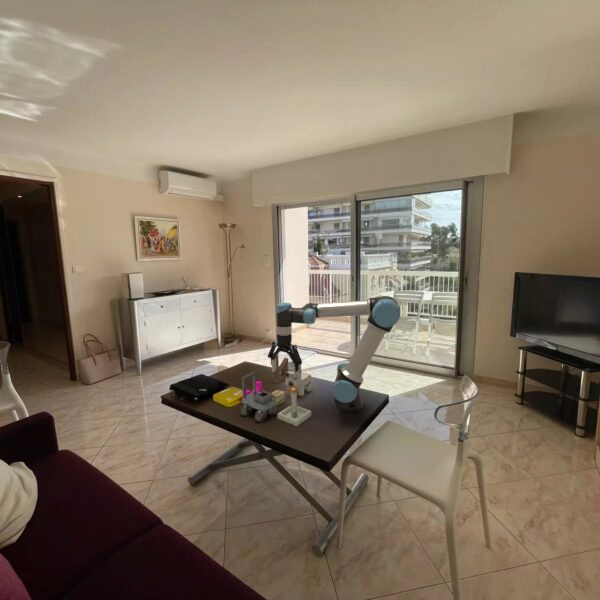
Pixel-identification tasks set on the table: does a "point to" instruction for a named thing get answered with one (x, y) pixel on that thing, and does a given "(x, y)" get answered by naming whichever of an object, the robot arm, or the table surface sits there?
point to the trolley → (257, 401)
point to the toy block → (258, 386)
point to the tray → (286, 417)
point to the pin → (294, 401)
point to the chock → (279, 396)
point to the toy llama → (298, 379)
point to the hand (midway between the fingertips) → (284, 374)
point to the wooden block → (282, 368)
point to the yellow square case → (228, 397)
